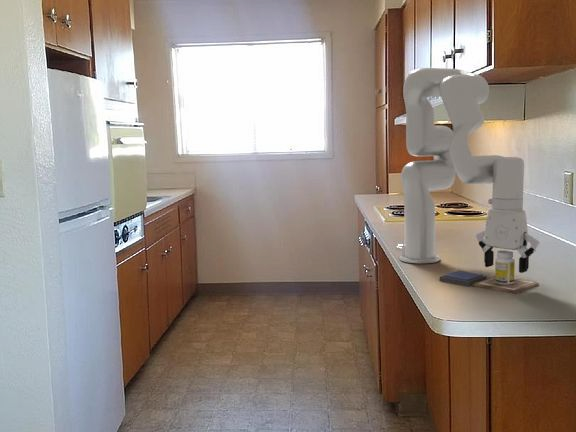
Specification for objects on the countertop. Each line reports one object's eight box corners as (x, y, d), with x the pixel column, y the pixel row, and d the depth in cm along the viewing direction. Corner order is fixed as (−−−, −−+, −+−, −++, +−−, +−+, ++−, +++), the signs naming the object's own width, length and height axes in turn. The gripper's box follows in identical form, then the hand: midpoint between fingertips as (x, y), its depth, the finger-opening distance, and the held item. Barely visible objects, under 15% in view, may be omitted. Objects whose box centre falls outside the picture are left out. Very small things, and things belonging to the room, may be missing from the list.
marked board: (473, 285, 162) (473, 283, 162) (496, 277, 170) (496, 275, 169) (515, 293, 153) (515, 291, 153) (538, 285, 161) (538, 282, 160)
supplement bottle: (510, 280, 164) (510, 249, 163) (517, 284, 159) (517, 253, 158) (492, 281, 164) (492, 250, 162) (499, 285, 159) (499, 253, 158)
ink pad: (439, 280, 168) (439, 275, 168) (458, 275, 174) (458, 269, 173) (468, 286, 161) (468, 280, 161) (486, 280, 167) (486, 274, 167)
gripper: (470, 203, 162) (468, 266, 165) (532, 208, 149) (530, 276, 152) (485, 201, 167) (483, 262, 170) (546, 205, 154) (544, 271, 157)
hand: (505, 269), depth 161 cm, fingers open, 9 cm apart
